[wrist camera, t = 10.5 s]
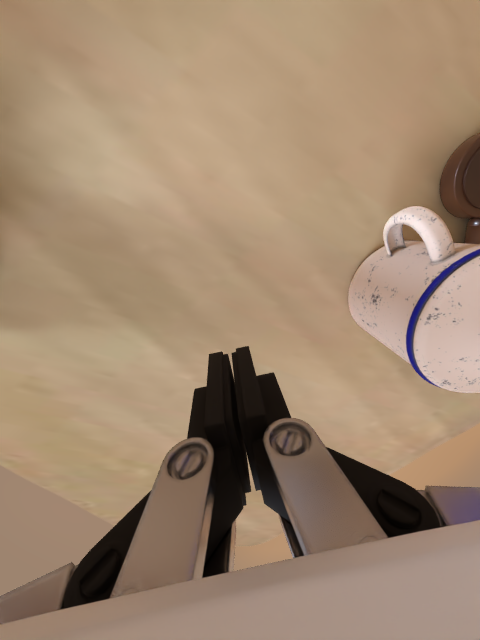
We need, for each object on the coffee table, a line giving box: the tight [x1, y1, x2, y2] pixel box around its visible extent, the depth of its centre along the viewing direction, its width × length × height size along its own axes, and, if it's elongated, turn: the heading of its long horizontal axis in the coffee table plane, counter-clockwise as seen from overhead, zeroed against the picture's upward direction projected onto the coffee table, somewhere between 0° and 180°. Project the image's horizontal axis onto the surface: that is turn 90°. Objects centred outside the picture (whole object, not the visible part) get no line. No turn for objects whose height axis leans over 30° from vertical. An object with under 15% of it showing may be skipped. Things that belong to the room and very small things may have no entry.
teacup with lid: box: [348, 206, 480, 393], centre depth 16 cm, size 12×9×12 cm
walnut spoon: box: [440, 133, 480, 244], centre depth 21 cm, size 20×6×2 cm, turn 11°
